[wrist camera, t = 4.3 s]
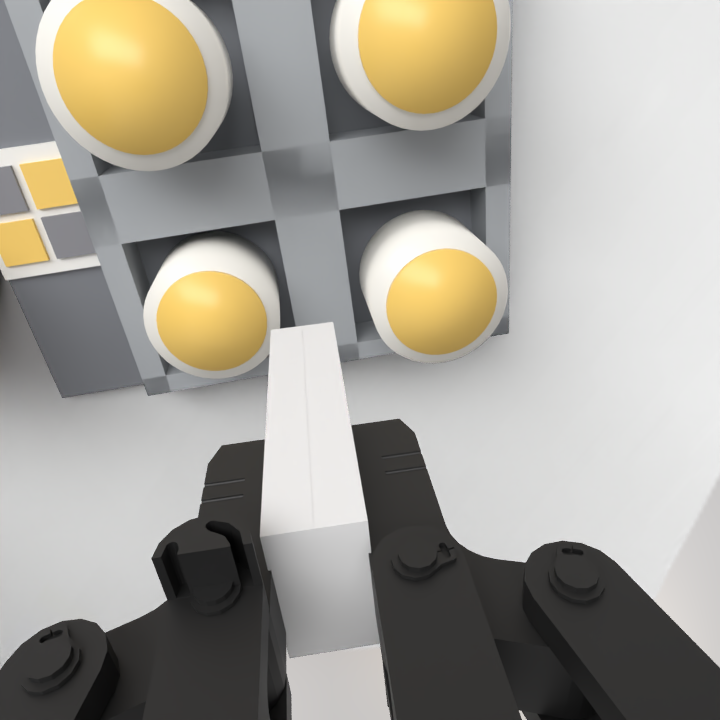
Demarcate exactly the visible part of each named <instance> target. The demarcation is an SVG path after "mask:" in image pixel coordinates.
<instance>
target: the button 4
mask: <svg viewBox="0 0 720 720" xmlns="http://www.w3.org/2000/svg"><path fill="white" fill-rule="evenodd" d="M359 278H360V285H361V289H362V292H363V295H364V298H365V300H366V303H367V305H368V308H369V311H370V313H371V316H372V319H373V321H374V324H375V326H376V329H377V331H378V333H379V335H380V337H381V338H382V340H383V341H384V342H385V344H386V345H387V346H388V347H389V348H390V349H392V350H393V351H394V352H396V353H397V354H399V355H400V356H402V357H404V358H407V359H409V360H412V361H416V362H421V363H442V362H447V361H452V360H455V359H458V358H460V357H462V356H465V355H467V354H469V353H470V352H472V351H473V350H475V349H476V348H478V347H479V346H480V345H481V344H483V343H484V342H485V341H486V340H487V339H488V338H489V337H490V335H491V334H492V333H493V332H494V331H495V329H496V327H497V326H498V324H499V323H500V320H501V318H502V316H503V314H504V311H505V308H506V304H507V298H508V283H507V278H506V274H505V271H504V268H503V266H502V264H501V262H500V260H499V259H498V258H497V256H496V255H495V254H494V253H493V252H492V251H491V250H490V249H489V248H488V247H487V246H486V245H485V244H484V243H483V242H482V241H480V240H479V239H478V238H477V237H476V236H475V235H474V234H473V233H472V232H470V231H469V230H468V229H467V228H466V227H465V226H464V225H463V224H462V223H460V222H459V221H458V220H456V219H455V218H453V217H451V216H450V215H448V214H445V213H442V212H438V211H433V210H417V211H411V212H407V213H404V214H401V215H399V216H397V217H395V218H393V219H391V220H390V221H388V222H387V223H385V224H384V225H383V226H382V227H381V228H380V229H378V230H377V232H376V233H375V234H374V235H373V236H372V238H371V239H370V241H369V242H368V244H367V246H366V248H365V250H364V252H363V255H362V258H361V263H360V270H359Z"/></svg>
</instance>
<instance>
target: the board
mask: <svg viewBox="0 0 720 720" xmlns="http://www.w3.org/2000/svg"><path fill="white" fill-rule="evenodd" d="M50 1H51V0H0V270H1V272H2V274H3V276H4V278H5V281H6V280H9V282H10V284H11V286H12V288H13V291H14V293H15V295H16V297H17V299H18V302H19V304H20V306H21V308H22V310H23V313H24V315H25V317H26V319H27V321H28V324H29V326H30V328H31V330H32V332H33V335H34V337H35V339H36V341H37V343H38V346H39V348H40V350H41V352H42V354H43V356H44V359H45V361H46V363H47V365H48V367H49V370H50V372H51V374H52V376H53V378H54V381H55V383H56V385H57V387H58V389H59V392H60V394H61V396H62V398H65V397H71V396H77V395H83V394H89V393H94V392H100V391H106V390H112V389H118V388H124V387H129V386H135V385H141V384H144V386H145V389H146V391H147V394H148V396H150V395H156V394H162V393H167V392H173V391H179V390H185V389H190V388H196V387H202V386H208V385H213V384H219V383H225V382H231V381H237V380H242V379H248V378H254V377H260V376H265V375H268V373H269V355H270V354H269V355H268V356H267V357H266V358H265V359H264V360H263V361H262V362H261V363H260V364H259V365H258V366H256V367H255V368H253V369H252V370H250V371H248V372H246V373H243V374H240V375H238V376H234V377H229V378H222V379H210V378H202V377H198V376H194V375H191V374H188V373H185V372H183V371H181V370H179V369H177V368H176V367H174V366H172V365H171V364H170V363H168V362H167V361H166V360H165V359H164V358H163V357H162V356H161V355H160V354H159V353H158V352H157V351H156V349H155V348H154V347H153V345H152V343H151V342H150V340H149V338H148V335H147V333H146V329H145V326H144V318H143V312H144V304H145V299H146V297H147V294H148V292H149V290H150V288H151V286H152V284H153V282H154V280H155V278H156V276H157V274H158V272H159V270H160V268H161V266H162V264H163V262H164V260H165V258H166V257H167V255H168V254H169V252H170V251H171V250H172V249H173V248H174V247H175V246H176V245H177V244H178V243H180V242H181V241H183V240H184V239H186V238H188V237H190V236H193V235H195V234H199V233H203V232H211V231H220V232H228V233H232V234H236V235H239V236H241V237H243V238H246V239H247V240H249V241H251V242H252V243H254V244H255V245H256V246H258V247H259V248H260V249H261V250H262V251H263V252H264V253H265V254H266V255H267V257H268V258H269V259H270V261H271V263H272V264H273V266H274V269H275V271H276V274H277V277H278V282H279V299H280V329H282V328H289V327H297V326H305V325H312V324H320V323H328V322H333V324H334V330H335V335H336V341H337V347H338V353H339V358H340V362H346V361H352V360H358V359H363V358H369V357H375V356H381V355H386V354H392V353H396V352H394V351H393V350H392V349H390V348H389V347H388V346H387V345H386V344H385V342H384V341H383V340H382V338H381V337H380V335H379V333H378V331H377V329H376V326H375V324H374V321H373V319H372V316H371V313H370V311H369V308H368V305H367V303H366V300H365V298H364V295H363V292H362V289H361V285H360V278H359V270H360V263H361V258H362V255H363V252H364V250H365V248H366V246H367V244H368V242H369V241H370V239H371V238H372V236H373V235H374V234H375V233H376V232H377V230H378V229H380V228H381V227H382V226H383V225H384V224H385V223H387V222H388V221H390V220H391V219H393V218H395V217H397V216H399V215H401V214H404V213H407V212H411V211H417V210H433V211H438V212H442V213H445V214H448V215H450V216H451V217H453V218H455V219H456V220H458V221H459V222H460V223H462V224H463V225H464V226H465V227H466V228H467V229H468V230H469V231H470V232H472V233H473V234H474V235H475V236H476V237H477V238H478V239H479V240H480V241H482V242H483V243H484V244H485V245H486V246H487V247H488V248H489V249H490V250H491V251H492V252H493V253H494V254H495V255H496V256H497V258H498V259H499V260H500V262H501V264H502V266H503V268H504V271H505V274H506V278H507V283H508V298H507V304H506V308H505V311H504V314H503V316H502V318H501V320H500V323H499V324H498V326H497V327H496V329H495V331H494V332H493V333H492V334H491V335H490V336H496V335H502V334H507V333H509V252H510V168H511V84H512V0H508V1H509V7H510V15H511V33H510V42H509V48H508V53H507V56H506V60H505V63H504V66H503V68H502V71H501V73H500V75H499V77H498V79H497V81H496V83H495V85H494V86H493V88H492V89H491V91H490V92H489V94H488V95H487V96H486V98H485V99H484V100H483V101H482V102H481V103H480V104H479V105H478V106H477V107H476V108H475V109H474V110H473V111H472V112H471V113H469V114H468V115H466V116H465V117H464V118H462V119H460V120H458V121H457V122H455V123H453V124H450V125H448V126H445V127H442V128H438V129H434V130H424V131H418V130H408V129H404V128H400V127H397V126H394V125H392V124H390V123H388V122H386V121H384V120H382V119H381V118H379V117H377V116H376V115H374V114H373V113H371V112H369V111H368V110H366V109H365V108H363V107H362V106H361V105H359V104H358V103H357V102H356V101H355V100H354V99H353V98H352V97H351V96H350V95H349V94H348V92H347V91H346V90H345V88H344V87H343V85H342V83H341V82H340V80H339V78H338V75H337V73H336V71H335V68H334V65H333V61H332V57H331V51H330V40H329V35H330V23H331V17H332V13H333V9H334V5H335V3H336V0H191V1H192V2H193V3H195V4H196V5H197V6H198V7H199V8H200V9H201V10H202V11H204V13H205V14H206V15H207V16H208V17H209V18H210V20H211V21H212V22H213V24H214V25H215V27H216V28H217V30H218V31H219V33H220V35H221V37H222V39H223V41H224V43H225V46H226V48H227V51H228V54H229V57H230V61H231V66H232V73H233V90H232V97H231V102H230V106H229V109H228V111H227V114H226V116H225V118H224V120H223V122H222V124H221V125H220V127H219V128H218V130H217V131H216V133H215V134H214V135H213V137H212V138H211V140H210V141H209V142H208V144H207V145H206V146H205V147H204V148H203V149H202V150H201V151H200V152H199V153H198V154H197V155H195V156H194V157H193V158H191V159H190V160H188V161H186V162H184V163H182V164H180V165H178V166H175V167H172V168H169V169H164V170H158V171H137V170H131V169H126V168H122V167H119V166H116V165H113V164H111V163H109V162H106V161H104V160H102V159H100V158H99V157H97V156H95V155H93V154H92V153H90V152H89V151H88V150H86V149H85V148H84V147H82V146H81V145H80V144H79V143H78V142H77V141H76V140H74V139H73V138H72V137H71V136H70V135H69V133H68V132H67V131H66V130H65V129H64V128H63V127H62V125H61V124H60V122H59V121H58V120H57V118H56V117H55V115H54V114H53V112H52V110H51V108H50V106H49V105H48V103H47V100H46V98H45V96H44V93H43V91H42V88H41V84H40V81H39V78H38V72H37V66H36V53H35V49H36V37H37V33H38V28H39V24H40V21H41V19H42V16H43V14H44V11H45V10H46V8H47V6H48V5H49V3H50Z"/></svg>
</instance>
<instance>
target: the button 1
mask: <svg viewBox="0 0 720 720" xmlns="http://www.w3.org/2000/svg"><path fill="white" fill-rule="evenodd" d="M35 53H36V66H37V72H38V78H39V81H40V84H41V88H42V91H43V93H44V96H45V98H46V100H47V103H48V105H49V106H50V108H51V110H52V112H53V114H54V115H55V117H56V118H57V120H58V121H59V122H60V124H61V125H62V127H63V128H64V129H65V130H66V131H67V132H68V133H69V135H70V136H71V137H72V138H73V139H74V140H76V141H77V142H78V143H79V144H80V145H81V146H82V147H84V148H85V149H86V150H88V151H89V152H90V153H92V154H93V155H95V156H97V157H99V158H100V159H102V160H104V161H106V162H109V163H111V164H113V165H116V166H119V167H122V168H126V169H131V170H137V171H158V170H164V169H169V168H172V167H175V166H178V165H180V164H182V163H184V162H186V161H188V160H190V159H191V158H193V157H194V156H195V155H197V154H198V153H199V152H200V151H201V150H202V149H203V148H204V147H205V146H206V145H207V144H208V142H209V141H210V140H211V138H212V137H213V135H214V134H215V133H216V131H217V130H218V128H219V127H220V125H221V124H222V122H223V120H224V118H225V116H226V114H227V111H228V109H229V106H230V102H231V97H232V90H233V73H232V66H231V61H230V57H229V54H228V51H227V48H226V46H225V43H224V41H223V39H222V37H221V35H220V33H219V31H218V30H217V28H216V27H215V25H214V24H213V22H212V21H211V20H210V18H209V17H208V16H207V15H206V14H205V13H204V11H202V10H201V9H200V8H199V7H198V6H197V5H196V4H195V3H193V2H192V1H191V0H51V1H50V3H49V5H48V6H47V8H46V10H45V11H44V14H43V16H42V19H41V21H40V24H39V28H38V33H37V37H36V49H35Z"/></svg>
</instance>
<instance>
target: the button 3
mask: <svg viewBox="0 0 720 720" xmlns="http://www.w3.org/2000/svg"><path fill="white" fill-rule="evenodd" d="M510 33H511V15H510V7H509V1H508V0H336V3H335V5H334V9H333V13H332V17H331V23H330V35H329V40H330V51H331V57H332V61H333V65H334V68H335V71H336V73H337V75H338V78H339V80H340V82H341V83H342V85H343V87H344V88H345V90H346V91H347V92H348V94H349V95H350V96H351V97H352V98H353V99H354V100H355V101H356V102H357V103H358V104H359V105H361V106H362V107H363V108H365V109H366V110H368V111H369V112H371V113H373V114H374V115H376V116H377V117H379V118H381V119H382V120H384V121H386V122H388V123H390V124H392V125H394V126H397V127H400V128H404V129H408V130H418V131H424V130H434V129H438V128H442V127H445V126H448V125H450V124H453V123H455V122H457V121H458V120H460V119H462V118H464V117H465V116H466V115H468V114H469V113H471V112H472V111H473V110H474V109H475V108H476V107H477V106H478V105H479V104H480V103H481V102H482V101H483V100H484V99H485V98H486V96H487V95H488V94H489V92H490V91H491V89H492V88H493V86H494V85H495V83H496V81H497V79H498V77H499V75H500V73H501V71H502V68H503V66H504V63H505V60H506V56H507V53H508V48H509V42H510Z"/></svg>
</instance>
